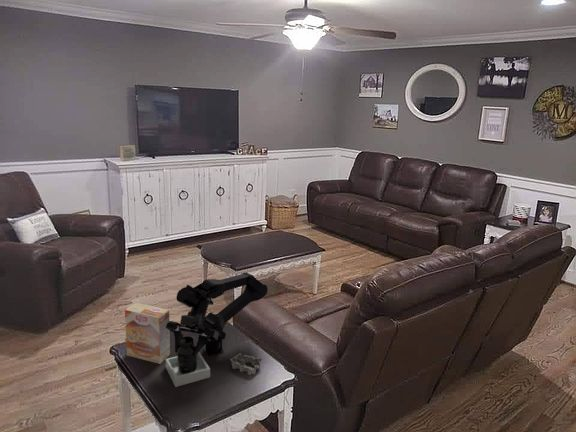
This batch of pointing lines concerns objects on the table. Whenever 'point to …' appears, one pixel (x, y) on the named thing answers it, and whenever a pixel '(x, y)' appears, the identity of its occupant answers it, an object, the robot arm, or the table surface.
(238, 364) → the egg carton
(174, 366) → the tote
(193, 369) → the supplement bottle
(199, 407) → the table surface
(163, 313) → the coffeecake box
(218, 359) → the table surface
